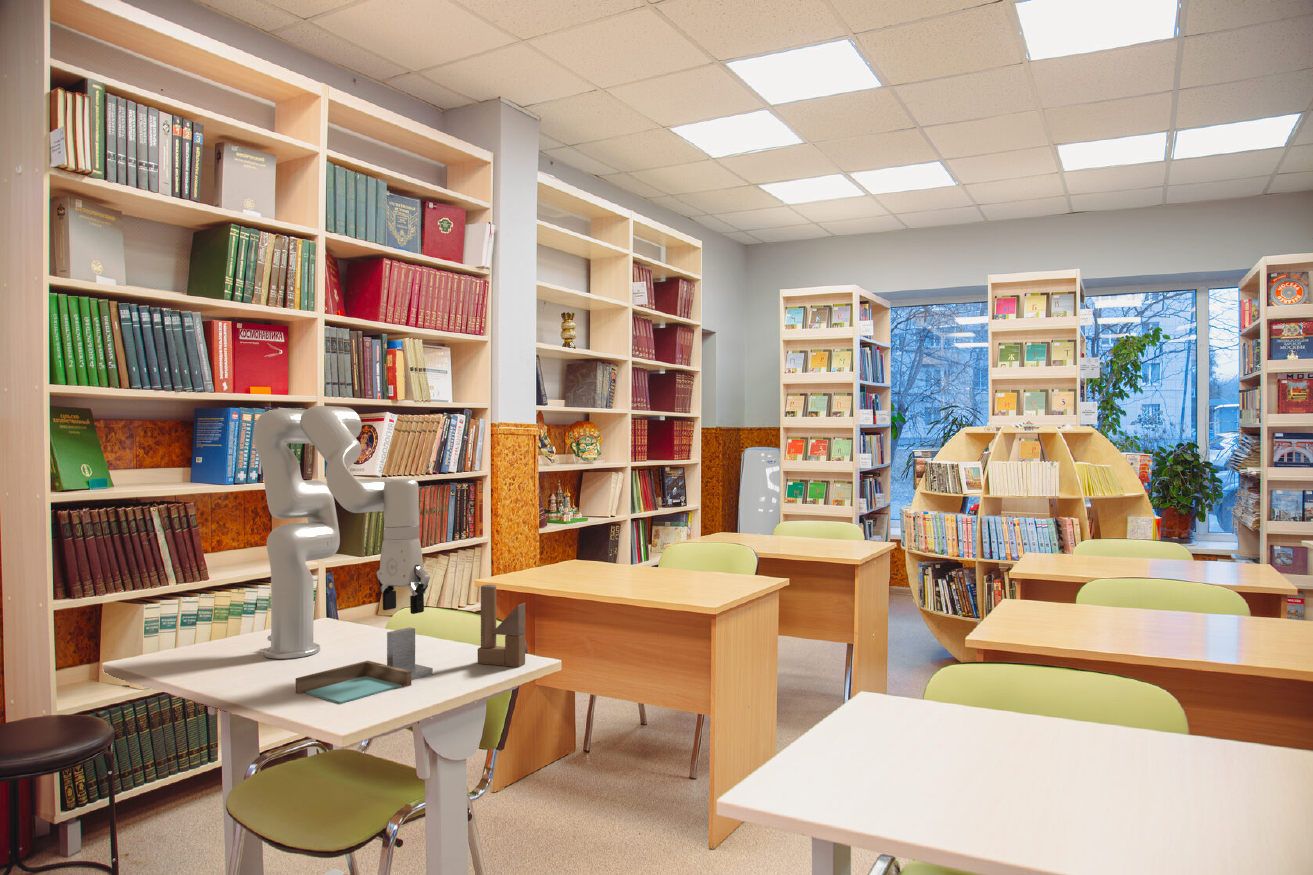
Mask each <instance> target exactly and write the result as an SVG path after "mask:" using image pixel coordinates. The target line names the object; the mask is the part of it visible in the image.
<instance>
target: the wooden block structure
mask: <svg viewBox="0 0 1313 875" xmlns="http://www.w3.org/2000/svg"><path fill="white" fill-rule="evenodd" d="M497 635H499V636H504V637H505V638H504V646H502V645H501V646H500V645H497ZM477 664H479V665H481V664H482V665H491V666H502V667H504V666H505V667H510V668H511V667H512V668H519V667H521V666H523V665H525V664H526V603H525V602H523V603H521V604H518V605H517V606H515V608H514V609H513V610H512V611H511V612H510V613H509V615H507V616H506V617H505V618H504V619H503V620H502V621H501V623H500V624H499V625H497V585H496V584H483V585H481V586H480V647H478V648H477Z"/></svg>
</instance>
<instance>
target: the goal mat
mask: <svg viewBox="0 0 1313 875" xmlns="http://www.w3.org/2000/svg"><path fill="white" fill-rule="evenodd" d="M401 686H402V685H399V684H395V683H391V682H388V681H384V680H380V679H376V678H372V677H368V676H364V677H360V678H356V679H352V680H348V681H344V682H341V683H337V684H333V685H329V686H325V687H322V688H318V689H314V690H310V691H306V692H305V694H306V695H310V696H313V697H316V698H320V699H324V700H326V701H330V702H332V703H333V702H334V703H336V704H339V705H342V704H345V703H349V702H353V701H355V700H356V701H357V700H359V699H362V698H367V697H369V696H373V695H377V694H381V693H384V692H386V691H391V690H393V689H398V688H400V687H401Z"/></svg>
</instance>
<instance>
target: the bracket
mask: <svg viewBox="0 0 1313 875" xmlns="http://www.w3.org/2000/svg"><path fill="white" fill-rule="evenodd" d="M386 665H388V666H393V667H397V668H401V669H405V670H409V671H411V682H412V681H416V680H418V679H422V678H425V677H430V676H433V667H430V666H425V665H421V664H420V665H419V664H416V628H415V627H414V628H413V627H405V628H400V629H396V630H392V631H386Z"/></svg>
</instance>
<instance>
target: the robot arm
mask: <svg viewBox="0 0 1313 875" xmlns="http://www.w3.org/2000/svg"><path fill="white" fill-rule="evenodd" d="M362 428H363V427H362V419H361V417H360V415H359V414H358V413H357V412H356V410H354V409H352V408H351V407H347V406H332V405H331V406H330V405H315V406H312V407H309V408H308V409H294V408H277V409H271V410H267V411H264V412H262V413H261V414H260V415H259V416H258V417H257V419H256V422H255V424H254V428H253V443H254V448H255V451H256V453H257V456H258V458H259V462H260V465H261V468H262V473H263V474H262V475H263V482H264V488H265V489H264V490H265V495H266V496H265V498H266V502H267V506H268V511H269V513H270V516H272V517H273V518H275V519H276V520H277V519H279V520H295V519H306V518H307V522H301V523H299V522H298V523H288V524H283V525H279V526H277V527H275V528H274V529H273V530H271V531H270V533H269V534H268V536H267V539H266V550H267V551H266V552H267V556H268V561H269V566H270V583H271V584H270V591H271V592H270V596H271V597H270V598H271V599H270V600H271V601H270V602H271V605H270V610H271V611H270V613H271V614H270V617H271V618H270V619H271V622H270V634H269V635H268V636H267V641H269V642H270V647H267V648H265V649H264V651H263V656H264V657H266V658H268V659H276V660H277V659H278V660H282V659H283V660H284V659H287V660H288V659H297V658H302V657H308V656H311V655H314V654H317V653H319V651H321V645H320V644H318V643H315V642H314V607H315V606H314V598H315V595H314V594H315V593H314V591H315V590H314V587H315V586H314V578H313V574H312V572H311V570H310V568H309V567H308V565H307V564H306V562H311V561H316V560H324V559H327V558H331V557H333V556H334V555H335V554H336V553H337V552H338V550H339V548H340V544H341V543H340V542H341V537H340V535H341V534H340V528H339V521H338V515H337V514H338V513H337V509H336V504H335V503H336V501H337V503H339V505H340V506H341V507H342V508H343V509H345V510H346V511H348V512H349V513H352V514H353V513H354V514H360V513H361V514H362V513H372V512H378V513H379V512H383V527H384V528H383V535H384V537H383V538H384V539H383V540H382V543H381V550H380V558H379V560H380V561H379V569H378V570H377V571H376V577H377V579H378V584H379V586H380V592H381V593H382V610H383V611H390V610H394V609H396V608H397V591H396V590H395V588H396V587H400V588H405V587H408V589H409V591H410V593H411V594H412V595H410V596H409V599H410V600H409V601H410V604H409V605H410V608H409V610H410V614H411V615H415V614H420V613H423V612H424V611H425V597H424V596H425V595H426V593H427V591H426V590H427V589H428V587H429V583H430V579H431V575H430V574H428V572H427V571H426V570H424V561H423V560H424V559H423V550H422V543H421V540H420V508H419V507H420V506H419V505H420V502H419V500H420V499H419V495H420V494H419V489H420V488H419V483H418V481H417V480H416V479H413V478H398V479H397V478H396V479H395V478H382V477H381V478H358V479H357V478H356V477H355V476H354V475H353V473H352V472H351V471H350V470H349V469H348V468H349V467H350V466H352V465H353V464H354V463H355V462H357V460H358V459H359V458H360V457H361V455H362V454H361V453H362V450H363V449H362V445H361V443H360V441H359V440H358V439H357V438H358V437H359V436H360V434H361V431H362ZM288 444H309V445H313V446H314V448H315V449H316V450H317V451H318V453H319V454H320V455H321V456H322V458H323V459H324V460H325V461H326V463H327V464H326V468H325V479H326V480H325V481H326V482H324V481H322V480H318V479H317V480H316V479H307V480H306V479H305V480H304V479H303V477H302V472H301V465H300V462H299V459H298V457H297V456H296V455H295V453H294V452H293V451H292V450H291V449H290V447H289V446H288ZM335 500H336V501H335Z"/></svg>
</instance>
